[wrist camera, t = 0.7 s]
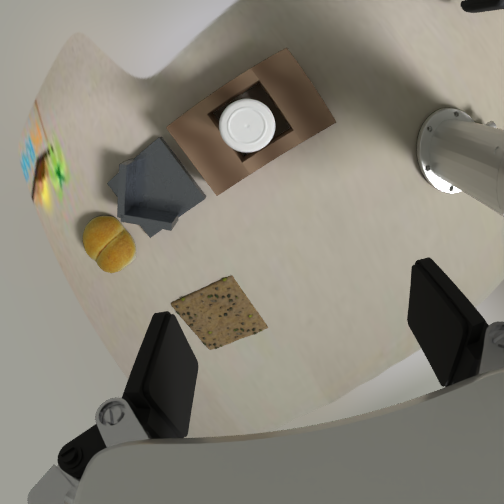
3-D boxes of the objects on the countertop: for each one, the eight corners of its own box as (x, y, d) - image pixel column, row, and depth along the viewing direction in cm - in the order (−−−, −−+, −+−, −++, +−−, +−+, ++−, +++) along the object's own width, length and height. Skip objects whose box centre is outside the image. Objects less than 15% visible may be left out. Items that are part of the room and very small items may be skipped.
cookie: (269, 326, 49) (270, 329, 49) (210, 348, 52) (209, 352, 51) (232, 272, 45) (232, 275, 44) (169, 301, 48) (168, 305, 47)
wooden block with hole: (283, 54, 30) (286, 47, 26) (327, 120, 34) (336, 122, 30) (176, 125, 35) (165, 127, 31) (221, 186, 38) (216, 196, 34)
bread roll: (107, 203, 40) (95, 213, 36) (146, 248, 43) (137, 261, 40) (78, 234, 42) (66, 245, 39) (114, 274, 45) (105, 288, 42)
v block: (160, 134, 35) (148, 138, 31) (207, 198, 39) (201, 209, 35) (109, 179, 38) (93, 188, 34) (153, 236, 42) (143, 250, 38)
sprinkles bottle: (231, 135, 35) (215, 150, 23) (234, 100, 33) (221, 95, 21) (267, 139, 35) (272, 156, 23) (272, 104, 33) (279, 101, 21)
